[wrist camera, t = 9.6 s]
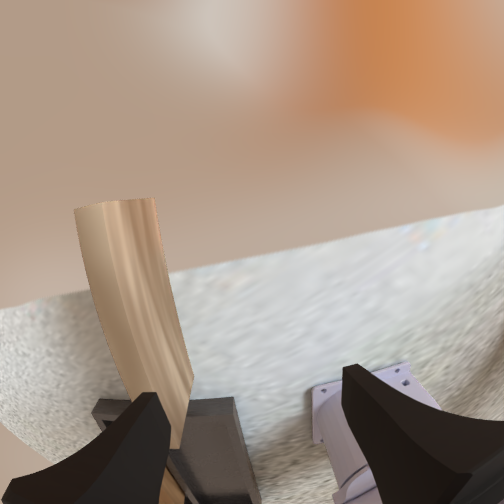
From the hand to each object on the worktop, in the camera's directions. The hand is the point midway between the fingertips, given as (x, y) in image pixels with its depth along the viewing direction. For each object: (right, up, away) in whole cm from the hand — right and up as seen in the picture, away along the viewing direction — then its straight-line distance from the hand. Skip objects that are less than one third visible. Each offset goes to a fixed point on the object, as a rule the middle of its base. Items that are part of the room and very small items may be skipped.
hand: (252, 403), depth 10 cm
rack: (-7, -17, +14) cm, 23 cm away
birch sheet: (-6, +2, +10) cm, 12 cm away
